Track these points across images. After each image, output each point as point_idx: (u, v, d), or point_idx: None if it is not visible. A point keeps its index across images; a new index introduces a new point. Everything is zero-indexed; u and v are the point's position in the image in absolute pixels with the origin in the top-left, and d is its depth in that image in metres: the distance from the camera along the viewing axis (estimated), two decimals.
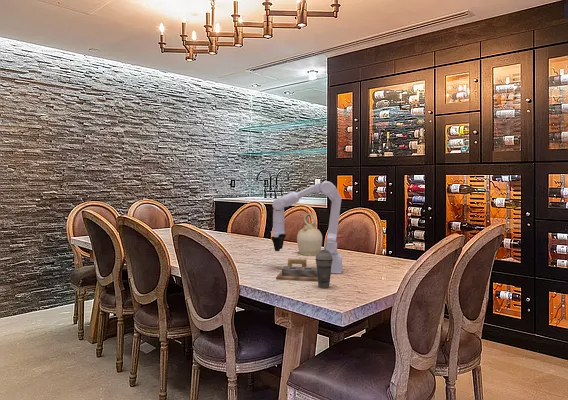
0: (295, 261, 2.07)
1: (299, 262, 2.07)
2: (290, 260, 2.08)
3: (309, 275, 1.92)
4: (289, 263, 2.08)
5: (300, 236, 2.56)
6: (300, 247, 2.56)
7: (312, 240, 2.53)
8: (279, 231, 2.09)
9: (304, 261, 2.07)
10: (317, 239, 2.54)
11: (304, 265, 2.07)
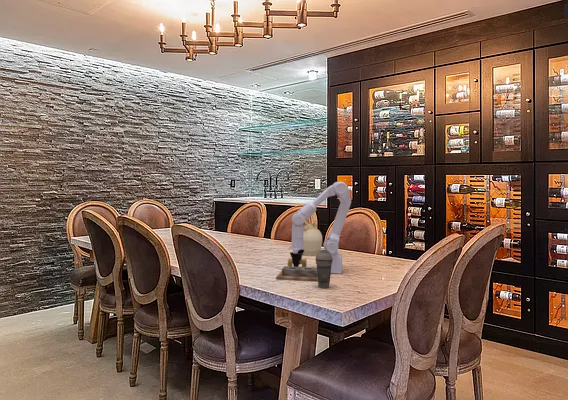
0: None
1: (299, 262, 2.07)
2: (290, 260, 2.08)
3: (309, 275, 1.92)
4: (289, 263, 2.08)
5: None
6: None
7: (312, 240, 2.53)
8: (298, 247, 2.06)
9: (304, 261, 2.07)
10: (317, 239, 2.54)
11: (304, 265, 2.07)
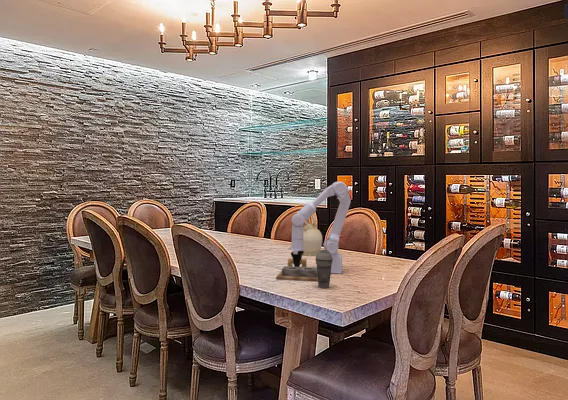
0: None
1: None
2: (290, 260, 2.08)
3: (309, 275, 1.92)
4: (289, 263, 2.08)
5: None
6: None
7: (312, 240, 2.53)
8: (298, 248, 2.06)
9: (304, 261, 2.07)
10: (317, 239, 2.54)
11: (304, 265, 2.07)
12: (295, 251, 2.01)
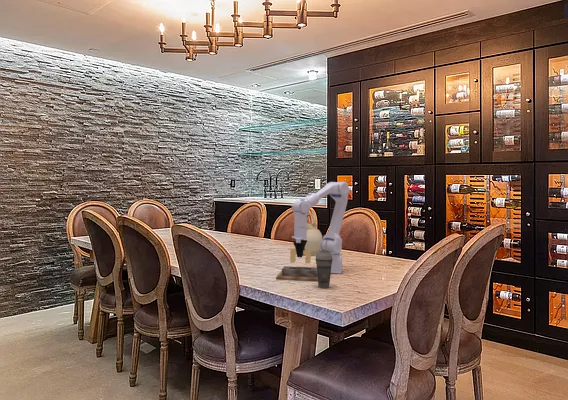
0: None
1: None
2: (293, 250, 1.96)
3: (309, 275, 1.92)
4: (292, 253, 1.96)
5: None
6: None
7: (312, 240, 2.53)
8: (301, 236, 1.93)
9: (308, 251, 1.94)
10: (317, 239, 2.54)
11: (308, 256, 1.94)
12: (298, 240, 1.89)
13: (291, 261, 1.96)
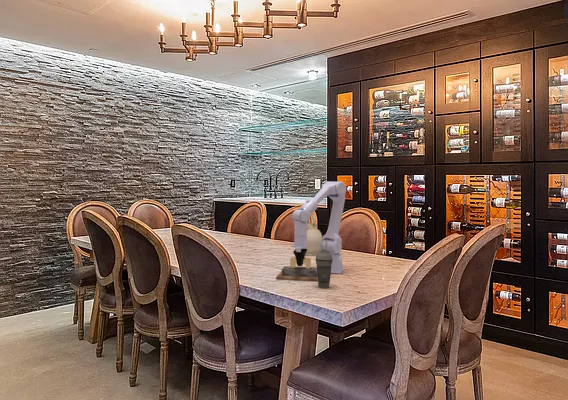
0: None
1: None
2: (293, 259, 1.95)
3: (309, 275, 1.92)
4: (292, 262, 1.95)
5: None
6: None
7: (312, 240, 2.53)
8: (301, 245, 1.93)
9: (308, 260, 1.94)
10: (317, 239, 2.54)
11: (308, 264, 1.94)
12: (298, 249, 1.89)
13: None
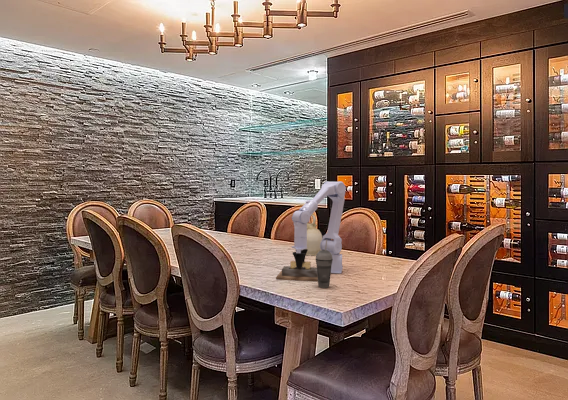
0: None
1: (302, 265, 1.95)
2: (293, 263, 1.96)
3: (309, 275, 1.92)
4: (292, 266, 1.96)
5: None
6: None
7: (312, 240, 2.53)
8: (301, 246, 1.93)
9: (308, 264, 1.94)
10: (317, 239, 2.54)
11: (308, 268, 1.94)
12: (298, 250, 1.89)
13: None
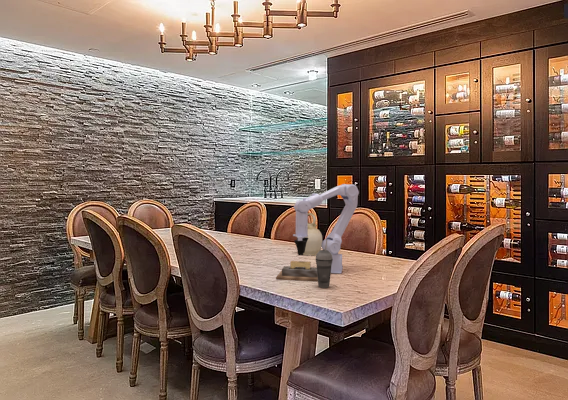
0: (298, 264, 1.95)
1: (302, 265, 1.95)
2: (293, 263, 1.96)
3: (309, 275, 1.92)
4: (292, 266, 1.96)
5: None
6: None
7: (312, 240, 2.53)
8: (302, 234, 2.01)
9: (308, 264, 1.94)
10: (317, 239, 2.54)
11: (308, 268, 1.94)
12: (300, 238, 1.97)
13: None
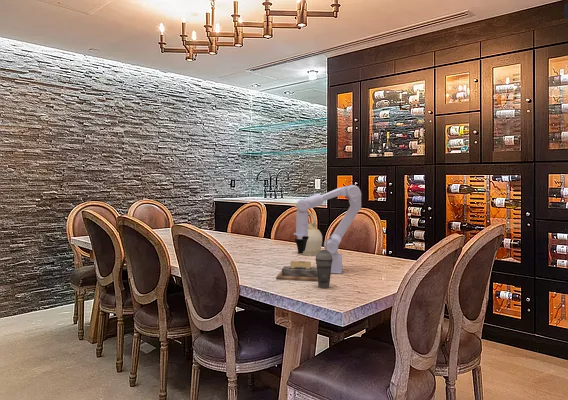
0: (298, 264, 1.95)
1: (302, 265, 1.95)
2: (293, 263, 1.96)
3: (309, 275, 1.92)
4: (292, 266, 1.96)
5: None
6: None
7: (312, 240, 2.53)
8: (303, 233, 2.06)
9: (308, 264, 1.94)
10: (317, 239, 2.54)
11: (308, 268, 1.94)
12: (300, 236, 2.02)
13: None
